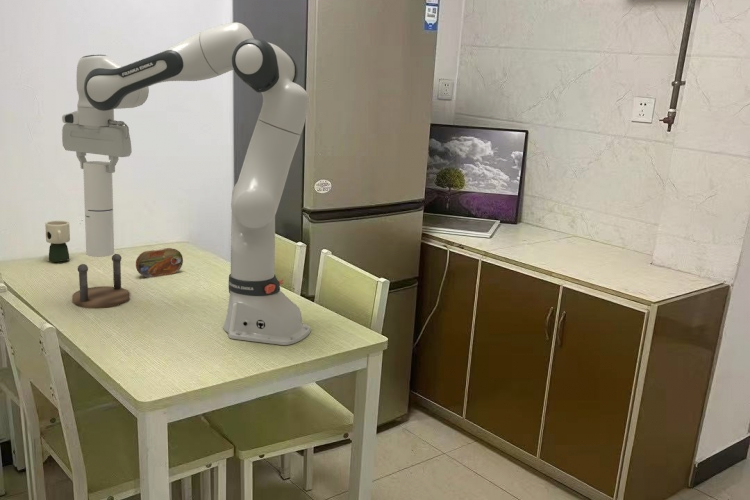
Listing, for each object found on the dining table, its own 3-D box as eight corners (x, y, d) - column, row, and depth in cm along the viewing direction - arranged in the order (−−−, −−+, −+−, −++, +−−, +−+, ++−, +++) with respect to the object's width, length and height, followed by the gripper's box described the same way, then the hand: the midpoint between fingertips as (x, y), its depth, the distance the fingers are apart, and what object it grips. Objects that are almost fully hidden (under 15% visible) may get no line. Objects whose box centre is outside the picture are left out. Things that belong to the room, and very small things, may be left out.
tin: (139, 279, 213) (138, 253, 211) (134, 277, 216) (133, 251, 214) (183, 272, 224) (183, 247, 222) (178, 270, 226) (178, 245, 224)
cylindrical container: (104, 258, 186) (101, 165, 180) (80, 254, 187) (77, 163, 181) (119, 252, 193) (117, 162, 187) (96, 249, 194) (93, 160, 188)
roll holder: (141, 296, 198) (141, 256, 195) (103, 312, 184) (101, 269, 181) (100, 288, 203) (98, 249, 200) (59, 302, 189) (57, 261, 186)
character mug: (45, 257, 230) (43, 219, 227) (68, 256, 233) (67, 218, 230) (49, 266, 221) (46, 226, 217) (73, 264, 224) (71, 225, 221)
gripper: (136, 121, 181) (137, 173, 184) (75, 115, 187) (77, 165, 191) (119, 122, 175) (121, 176, 178) (56, 115, 182) (59, 167, 185)
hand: (97, 170), depth 185 cm, fingers closed on cylindrical container, 7 cm apart
